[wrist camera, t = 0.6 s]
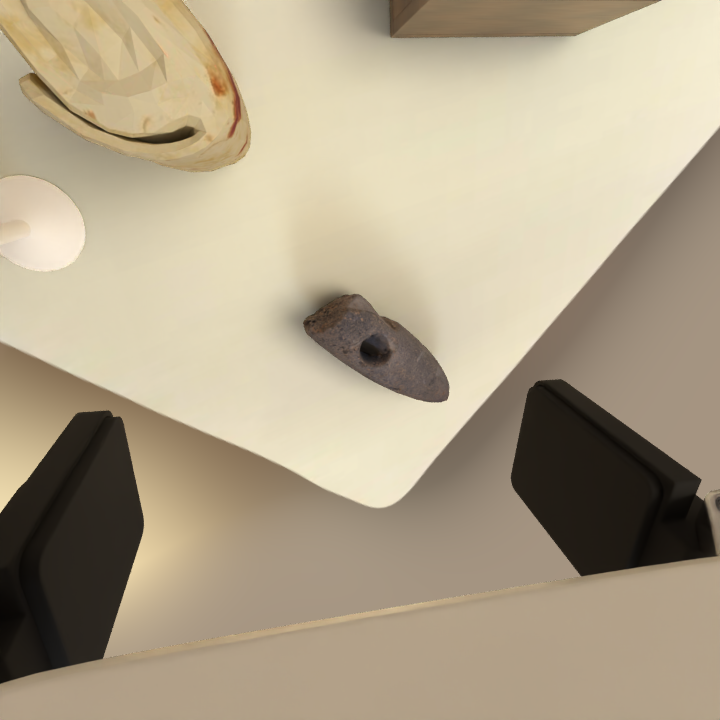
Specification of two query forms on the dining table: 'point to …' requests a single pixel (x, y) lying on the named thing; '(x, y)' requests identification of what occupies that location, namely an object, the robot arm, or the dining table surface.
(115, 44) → the food model
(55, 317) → the dining table surface
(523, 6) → the cabinet
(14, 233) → the champagne flute
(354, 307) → the perforated stone tool
